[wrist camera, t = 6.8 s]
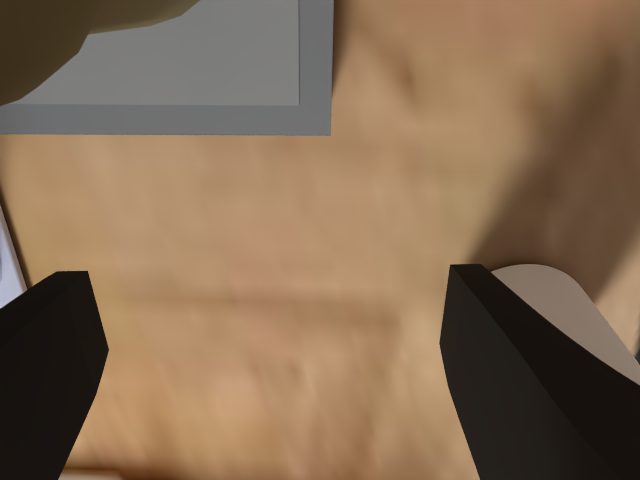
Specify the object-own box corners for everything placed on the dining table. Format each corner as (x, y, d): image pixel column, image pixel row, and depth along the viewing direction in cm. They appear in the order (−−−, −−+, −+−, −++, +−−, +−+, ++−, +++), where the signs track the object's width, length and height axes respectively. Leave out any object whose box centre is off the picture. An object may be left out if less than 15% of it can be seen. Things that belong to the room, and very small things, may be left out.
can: (457, 252, 23) (581, 528, 13) (605, 263, 23) (842, 538, 13) (426, 367, 26) (505, 660, 16) (557, 374, 27) (716, 664, 16)
